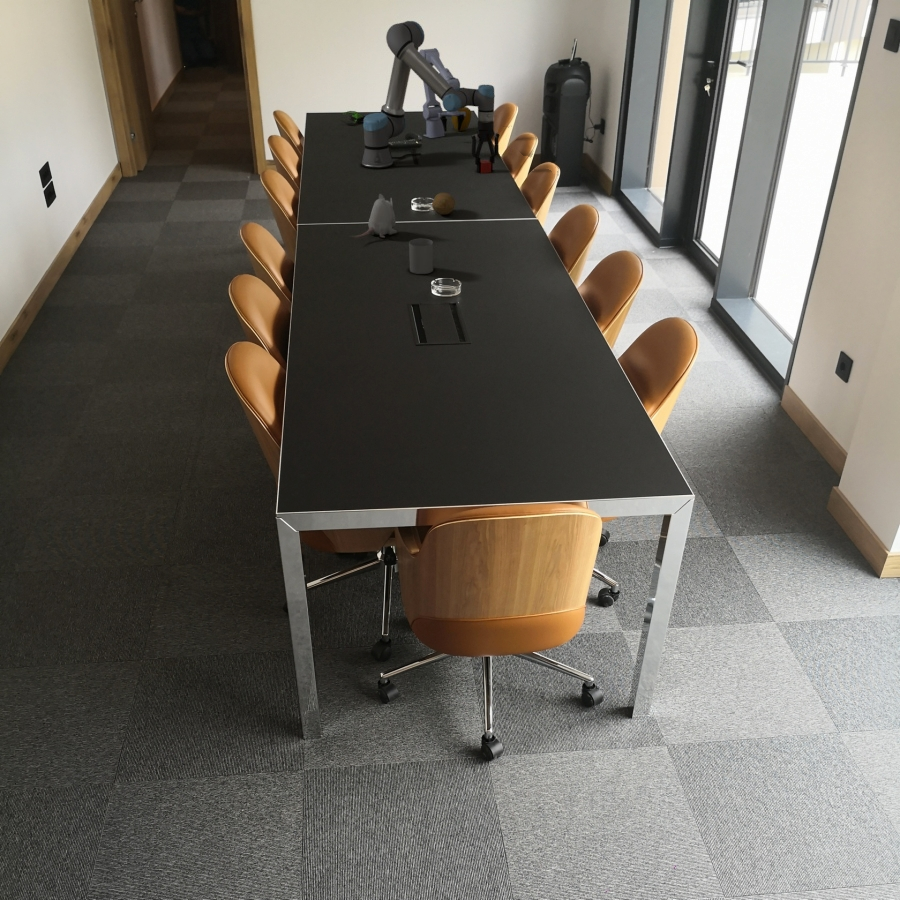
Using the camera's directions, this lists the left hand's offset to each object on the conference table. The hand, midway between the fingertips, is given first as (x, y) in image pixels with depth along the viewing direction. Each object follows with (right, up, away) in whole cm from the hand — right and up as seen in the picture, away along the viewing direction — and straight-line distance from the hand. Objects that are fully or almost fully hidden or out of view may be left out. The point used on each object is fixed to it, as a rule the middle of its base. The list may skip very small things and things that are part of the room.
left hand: (484, 170), depth 418 cm
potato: (-19, -36, -55) cm, 69 cm away
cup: (-27, -71, -110) cm, 134 cm away
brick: (0, 0, 0) cm, 0 cm away
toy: (-47, -52, -81) cm, 107 cm away
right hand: (-16, +36, +44) cm, 59 cm away
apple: (-10, +46, +73) cm, 87 cm away
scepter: (-65, +56, +88) cm, 123 cm away
